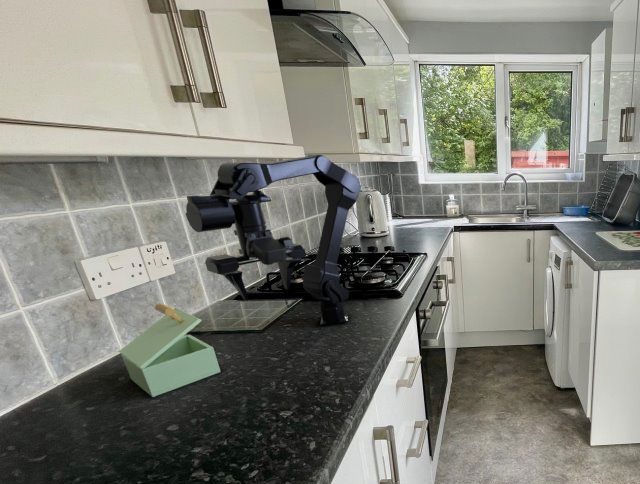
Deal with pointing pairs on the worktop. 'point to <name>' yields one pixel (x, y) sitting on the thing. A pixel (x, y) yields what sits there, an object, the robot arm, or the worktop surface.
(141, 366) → the bin lid
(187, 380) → the bin
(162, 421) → the worktop surface
